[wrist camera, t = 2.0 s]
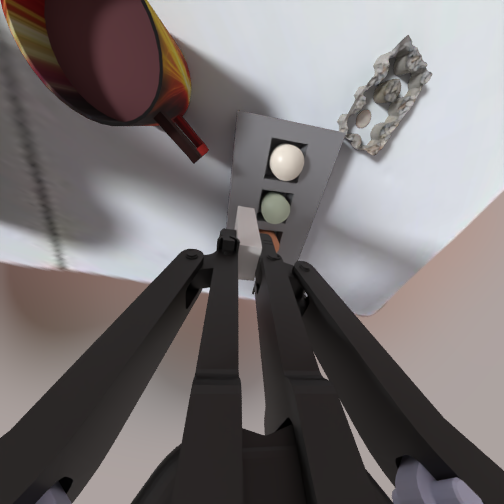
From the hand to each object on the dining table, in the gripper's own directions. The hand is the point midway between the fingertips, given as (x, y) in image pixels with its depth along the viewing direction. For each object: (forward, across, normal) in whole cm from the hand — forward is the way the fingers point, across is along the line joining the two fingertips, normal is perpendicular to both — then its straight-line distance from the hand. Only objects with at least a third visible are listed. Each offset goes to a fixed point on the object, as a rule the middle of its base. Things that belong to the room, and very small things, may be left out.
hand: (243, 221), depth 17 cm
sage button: (+13, +5, -2) cm, 14 cm away
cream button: (+13, +5, +4) cm, 15 cm away
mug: (+16, -11, +9) cm, 22 cm away
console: (+17, +5, -2) cm, 17 cm away
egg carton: (+17, +17, +13) cm, 28 cm away
